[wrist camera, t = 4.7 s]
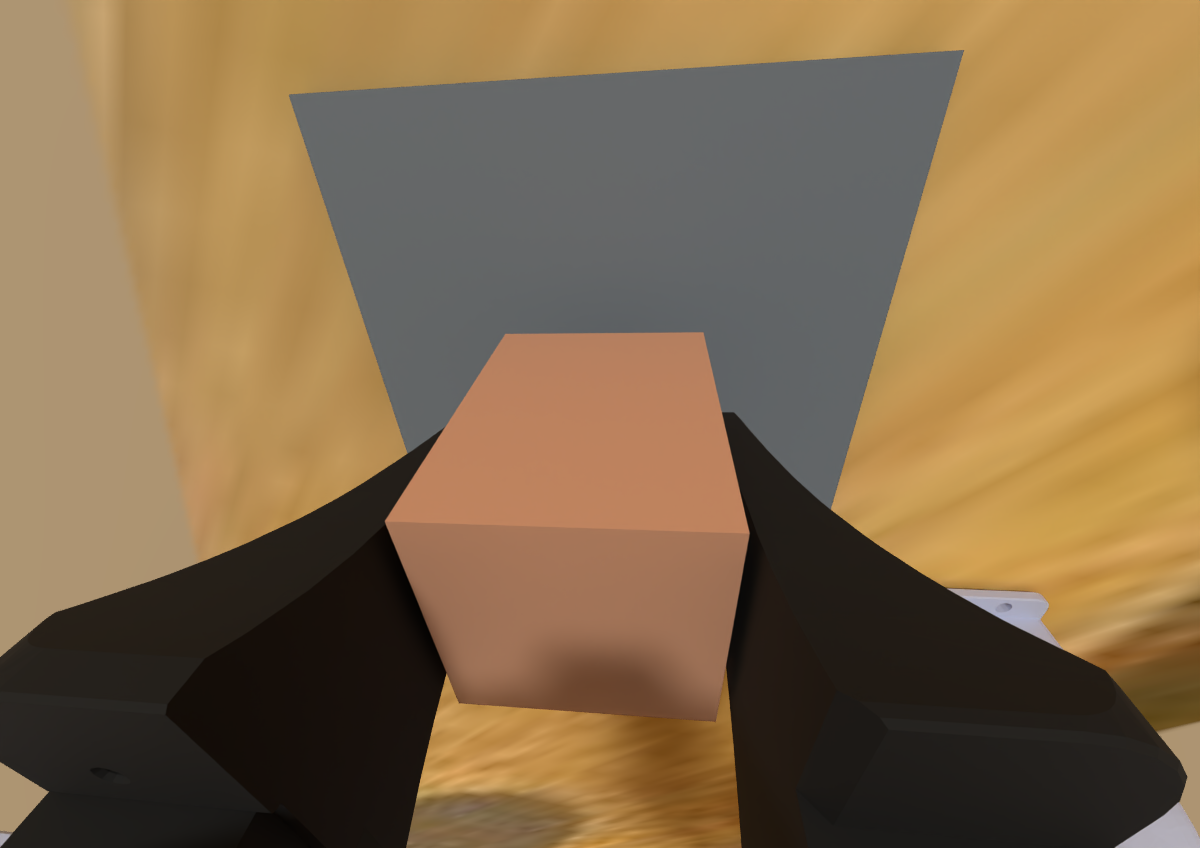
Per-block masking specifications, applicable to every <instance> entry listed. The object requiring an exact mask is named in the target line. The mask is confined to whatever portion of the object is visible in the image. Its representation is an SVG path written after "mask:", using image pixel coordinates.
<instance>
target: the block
mask: <svg viewBox="0 0 1200 848" xmlns="http://www.w3.org/2000/svg"><path fill="white" fill-rule="evenodd" d="M385 523H386V526H387V528H388V531H389V533H390V536H391V538H392V540H393V543H394V545H395V548H396V550H397V553H398V555H399V558H400V560H401V562H402V565H403V567H404V570H405V572H406V575H407V577H408V580H409V582H410V584H411V587H412V589H413V592H414V594H415V597H416V599H417V602H418V604H419V606H420V609H421V611H422V614H423V616H424V619H425V621H426V624H427V626H428V628H429V631H430V633H431V636H432V638H433V641H434V643H435V646H436V648H437V651H438V653H439V655H440V658H441V660H442V663H443V665H444V668H445V670H446V673H447V675H448V677H449V680H450V682H451V685H452V687H453V690H454V692H455V695H456V697H457V699H458V702H459V703H465V704H478V705H492V706H506V707H520V708H534V709H548V710H561V711H575V712H589V713H603V714H617V715H631V716H644V717H658V718H672V719H686V720H700V721H714V722H716V718H717V712H718V707H719V701H720V696H721V690H722V685H723V679H724V673H725V668H726V662H727V657H728V651H729V645H730V640H731V634H732V629H733V623H734V618H735V612H736V606H737V601H738V595H739V590H740V584H741V579H742V573H743V567H744V562H745V556H746V551H747V545H748V540H749V534H750V533H749V529H748V525H747V520H746V516H745V512H744V507H743V503H742V498H741V494H740V490H739V485H738V481H737V477H736V472H735V468H734V464H733V459H732V455H731V451H730V446H729V442H728V437H727V433H726V429H725V424H724V420H723V416H722V411H721V407H720V403H719V398H718V394H717V390H716V385H715V381H714V377H713V372H712V368H711V363H710V359H709V355H708V350H707V346H706V342H705V337H704V333H703V332H682V333H557V334H505V335H504V337H503V338H502V340H501V341H500V343H499V344H498V346H497V348H496V349H495V351H494V352H493V354H492V355H491V357H490V358H489V360H488V362H487V363H486V365H485V366H484V368H483V369H482V371H481V372H480V374H479V376H478V377H477V379H476V380H475V382H474V383H473V385H472V386H471V388H470V390H469V391H468V393H467V394H466V396H465V397H464V399H463V400H462V402H461V404H460V405H459V407H458V408H457V410H456V411H455V413H454V414H453V416H452V418H451V419H450V421H449V422H448V424H447V425H446V427H445V428H444V430H443V432H442V433H441V435H440V436H439V438H438V439H437V441H436V442H435V444H434V446H433V447H432V449H431V450H430V452H429V453H428V455H427V456H426V458H425V460H424V461H423V463H422V464H421V466H420V467H419V469H418V470H417V472H416V474H415V475H414V477H413V478H412V480H411V481H410V483H409V484H408V486H407V488H406V489H405V491H404V492H403V494H402V495H401V497H400V498H399V500H398V502H397V503H396V505H395V506H394V508H393V509H392V511H391V512H390V514H389V516H388V517H387V519H386V520H385Z"/></svg>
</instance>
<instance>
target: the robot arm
mask: <svg viewBox="0 0 1200 848" xmlns="http://www.w3.org/2000/svg"><path fill="white" fill-rule="evenodd" d="M722 416H723V420H724V424H725V429H726V433H727V437H728V442H729V446H730V451H731V455H732V459H733V464H734V468H735V472H736V477H737V481H738V485H739V490H740V494H741V498H742V503H743V507H744V512H745V516H746V520H747V525H748V529H749V533H750V534H749V540H748V545H747V551H746V556H745V562H744V567H743V573H742V579H741V584H740V590H739V595H738V601H737V606H736V612H735V618H734V623H733V629H732V634H731V640H730V645H729V651H728V657H727V662H726V669H727V679H728V689H729V700H730V711H731V722H732V733H733V744H734V756H735V768H736V780H737V792H738V805H739V818H740V832H741V846H742V848H1200V838H1199V836H1198V834H1197V832H1196V830H1195V828H1194V826H1193V824H1192V823H1191V821H1190V819H1189V818H1188V816H1187V814H1186V813H1185V811H1184V809H1183V807H1182V806H1181V804H1180V803H1179V801H1180V799H1181V796H1182V793H1183V790H1184V787H1185V783H1186V779H1187V775H1186V773H1185V771H1184V769H1183V766H1182V764H1181V762H1180V760H1179V759H1178V758H1177V757H1176V756H1175V754H1174V753H1173V752H1172V751H1171V749H1170V748H1169V747H1168V746H1167V745H1166V743H1165V742H1164V741H1163V740H1162V738H1161V737H1160V736H1159V735H1158V734H1157V732H1156V731H1155V730H1154V729H1153V727H1152V726H1151V725H1150V724H1149V722H1148V721H1147V720H1146V719H1145V718H1144V716H1143V715H1142V714H1141V713H1140V711H1139V710H1138V709H1137V708H1136V707H1135V705H1134V704H1133V703H1132V702H1131V700H1130V699H1129V698H1128V697H1127V695H1126V694H1125V693H1124V692H1123V691H1122V689H1121V688H1120V687H1119V686H1118V685H1117V683H1116V682H1115V681H1114V680H1113V679H1112V678H1111V677H1110V676H1109V674H1108V673H1107V672H1106V671H1105V670H1103V669H1101V668H1099V667H1097V666H1095V665H1093V664H1091V663H1089V662H1087V661H1085V660H1083V659H1081V658H1079V657H1077V656H1075V655H1073V654H1071V653H1069V652H1067V651H1065V650H1063V649H1062V647H1061V646H1060V645H1059V644H1058V642H1057V641H1056V640H1055V638H1054V637H1053V636H1052V634H1051V633H1050V632H1049V630H1048V629H1047V628H1046V627H1045V625H1044V624H1043V623H1042V621H1041V620H1040V619H1041V617H1042V616H1043V615H1044V613H1045V612H1046V611H1047V609H1048V607H1049V604H1048V602H1047V601H1046V600H1045V598H1044V597H1043V596H1042V595H1041V594H1039V593H1035V592H1020V591H997V590H973V589H950V588H945V587H943V586H942V585H940V584H938V583H937V582H935V581H933V580H932V579H930V578H928V577H927V576H925V575H923V574H922V573H920V572H918V571H917V570H915V569H914V568H912V567H911V566H909V565H908V564H906V563H905V562H903V561H901V560H900V559H898V558H897V557H895V556H894V555H892V554H891V553H889V552H888V551H886V550H885V549H883V548H882V547H880V546H879V545H877V544H876V543H874V542H873V541H872V540H870V539H869V538H867V537H866V536H864V535H863V534H862V533H860V532H859V531H858V530H856V529H855V528H854V527H853V526H851V525H850V524H849V523H847V522H846V521H845V520H843V519H842V518H841V517H839V516H838V515H837V514H836V513H834V512H833V511H832V510H831V509H829V508H828V507H827V506H826V505H824V504H823V503H822V502H821V501H820V500H819V499H817V498H816V497H815V496H814V495H813V494H812V493H811V492H810V491H809V490H807V489H806V488H805V487H804V486H803V485H802V484H801V483H800V482H799V481H797V480H796V479H795V478H794V477H793V476H792V475H791V474H790V473H789V472H788V471H787V470H786V469H785V468H784V467H783V466H782V465H781V463H780V462H779V461H778V460H777V459H776V458H775V457H774V456H773V455H772V454H771V453H770V452H769V451H768V450H767V449H766V448H765V447H764V445H763V444H762V443H761V442H760V441H759V440H758V439H757V438H756V436H755V435H754V434H753V433H752V432H751V431H750V429H749V428H748V427H747V426H746V425H745V424H744V422H743V421H742V420H741V419H740V418H739V417H738V416H737V415H736V414H735V413H734V412H722ZM444 428H445V427H444ZM444 428H443V429H441V430H440V431H439V432H437V433H436V434H435V435H433V436H432V437H430V438H429V439H428V440H426V441H425V442H423V443H422V444H421V445H419V446H418V447H416V448H415V449H414V450H412V451H411V452H409V453H408V454H406V455H405V456H404V457H402V458H401V459H399V460H398V461H396V462H395V463H393V464H392V465H390V466H389V467H387V468H385V469H384V470H382V471H381V472H379V473H378V474H376V475H375V476H373V477H372V478H370V479H369V480H367V481H366V482H364V483H362V484H361V485H359V486H358V487H356V488H354V489H353V490H351V491H349V492H348V493H346V494H344V495H342V496H341V497H339V498H337V499H335V500H333V501H332V502H330V503H328V504H326V505H324V506H322V507H321V508H319V509H317V510H315V511H313V512H311V513H309V514H307V515H305V516H304V517H302V518H300V519H298V520H295V521H293V522H291V523H289V524H287V525H285V526H283V527H280V528H278V529H276V530H274V531H272V532H270V533H268V534H265V535H263V536H261V537H259V538H257V539H255V540H253V541H251V542H248V543H246V544H244V545H242V546H239V547H237V548H235V549H232V550H230V551H227V552H225V553H222V554H220V555H218V556H215V557H213V558H210V559H208V560H205V561H203V562H200V563H198V564H195V565H192V566H190V567H187V568H185V569H182V570H179V571H177V572H174V573H171V574H169V575H166V576H164V577H161V578H158V579H155V580H152V581H150V582H147V583H144V584H141V585H138V586H135V587H132V588H129V589H126V590H123V591H120V592H117V593H114V594H111V595H108V596H105V597H102V598H99V599H96V600H93V601H90V602H87V603H84V604H81V605H78V606H74V607H71V608H68V609H65V610H62V611H58V612H56V613H54V614H52V615H51V616H49V617H48V618H47V619H45V620H44V621H43V622H42V623H41V624H39V625H38V626H37V627H36V628H34V629H33V630H32V631H31V632H30V633H28V634H27V635H26V636H25V637H24V638H22V639H21V640H20V641H19V642H18V643H17V644H15V645H14V646H13V647H12V648H11V649H9V650H8V651H7V652H6V653H5V654H3V655H2V656H1V657H0V762H1V763H3V764H4V765H6V766H8V767H9V768H11V769H13V770H14V771H16V772H17V773H19V774H21V775H22V776H24V777H26V778H27V779H29V780H30V781H32V782H34V783H35V784H37V785H39V786H40V787H42V788H43V789H45V790H47V791H49V793H48V794H47V795H46V796H45V797H44V798H43V799H42V800H41V802H40V803H39V804H38V805H37V806H36V807H35V808H34V809H33V811H32V812H31V813H30V814H29V815H28V816H27V817H26V819H25V820H24V821H23V822H22V823H21V824H20V825H19V826H18V828H17V829H16V830H15V831H14V832H5V831H0V848H406V845H407V841H408V836H409V831H410V826H411V821H412V817H413V812H414V807H415V802H416V798H417V793H418V788H419V783H420V779H421V774H422V770H423V766H424V762H425V757H426V753H427V749H428V745H429V740H430V736H431V732H432V727H433V723H434V719H435V715H436V711H437V708H438V704H439V700H440V696H441V692H442V688H443V684H444V681H445V677H446V670H445V668H444V665H443V663H442V660H441V658H440V655H439V653H438V651H437V648H436V646H435V643H434V641H433V638H432V636H431V633H430V631H429V628H428V626H427V624H426V621H425V619H424V616H423V614H422V611H421V609H420V606H419V604H418V602H417V599H416V597H415V594H414V592H413V589H412V587H411V584H410V582H409V580H408V577H407V575H406V572H405V570H404V567H403V565H402V562H401V560H400V558H399V555H398V553H397V550H396V548H395V545H394V543H393V540H392V538H391V536H390V533H389V531H388V528H387V526H386V523H385V520H386V519H387V517H388V516H389V514H390V512H391V511H392V509H393V508H394V506H395V505H396V503H397V502H398V500H399V498H400V497H401V495H402V494H403V492H404V491H405V489H406V488H407V486H408V484H409V483H410V481H411V480H412V478H413V477H414V475H415V474H416V472H417V470H418V469H419V467H420V466H421V464H422V463H423V461H424V460H425V458H426V456H427V455H428V453H429V452H430V450H431V449H432V447H433V446H434V444H435V442H436V441H437V439H438V438H439V436H440V435H441V433H442V432H443V430H444Z"/></svg>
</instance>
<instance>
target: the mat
mask: <svg viewBox="0 0 1200 848" xmlns="http://www.w3.org/2000/svg"><path fill="white" fill-rule="evenodd" d="M963 52H964V50H959V51H944V52H928V53H913V54H898V55H883V56H868V57H852V58H837V59H822V60H807V61H792V62H777V63H761V64H746V65H731V66H716V67H701V68H685V69H670V70H655V71H640V72H625V73H610V74H594V75H579V76H564V77H549V78H534V79H518V80H503V81H488V82H473V83H458V84H442V85H427V86H412V87H397V88H382V89H367V90H351V91H336V92H321V93H306V94H291V95H289V97H290V100H291V103H292V106H293V109H294V112H295V115H296V118H297V121H298V124H299V127H300V130H301V133H302V136H303V139H304V142H305V145H306V148H307V151H308V154H309V157H310V160H311V164H312V167H313V170H314V173H315V176H316V179H317V182H318V185H319V188H320V191H321V194H322V197H323V200H324V203H325V206H326V209H327V212H328V215H329V218H330V221H331V224H332V227H333V230H334V233H335V236H336V239H337V242H338V245H339V248H340V251H341V254H342V257H343V260H344V263H345V266H346V269H347V272H348V275H349V278H350V281H351V284H352V287H353V290H354V293H355V296H356V299H357V302H358V305H359V308H360V311H361V314H362V317H363V320H364V323H365V326H366V329H367V332H368V335H369V338H370V341H371V344H372V347H373V351H374V354H375V357H376V360H377V363H378V366H379V369H380V372H381V375H382V378H383V381H384V384H385V387H386V390H387V393H388V396H389V399H390V402H391V405H392V408H393V411H394V414H395V417H396V420H397V423H398V426H399V429H400V432H401V435H402V438H403V441H404V444H405V447H406V450H407V453H409V452H411V451H412V450H414V449H415V448H416V447H418V446H419V445H421V444H422V443H423V442H425V441H426V440H428V439H429V438H430V437H432V436H433V435H435V434H436V433H437V432H439V431H440V430H441V429H443V428H444V427H446V425H447V424H448V422H449V421H450V419H451V418H452V416H453V414H454V413H455V411H456V410H457V408H458V407H459V405H460V404H461V402H462V400H463V399H464V397H465V396H466V394H467V393H468V391H469V390H470V388H471V386H472V385H473V383H474V382H475V380H476V379H477V377H478V376H479V374H480V372H481V371H482V369H483V368H484V366H485V365H486V363H487V362H488V360H489V358H490V357H491V355H492V354H493V352H494V351H495V349H496V348H497V346H498V344H499V343H500V341H501V340H502V338H503V337H504V335H505V334H557V333H682V332H703V333H704V337H705V342H706V346H707V350H708V355H709V359H710V363H711V368H712V372H713V377H714V381H715V385H716V390H717V394H718V398H719V403H720V407H721V411H722V412H734V413H735V414H736V415H737V416H738V417H739V418H740V419H741V420H742V421H743V422H744V424H745V425H746V426H747V427H748V428H749V429H750V431H751V432H752V433H753V434H754V435H755V436H756V438H757V439H758V440H759V441H760V442H761V443H762V444H763V445H764V447H765V448H766V449H767V450H768V451H769V452H770V453H771V454H772V455H773V456H774V457H775V458H776V459H777V460H778V461H779V462H780V463H781V465H782V466H783V467H784V468H785V469H786V470H787V471H788V472H789V473H790V474H791V475H792V476H793V477H794V478H795V479H796V480H797V481H799V482H800V483H801V484H802V485H803V486H804V487H805V488H806V489H807V490H809V491H810V492H811V493H812V494H813V495H814V496H815V497H816V498H817V499H819V500H820V501H821V502H822V503H823V504H824V505H826V506H827V507H828V508H829V509H831V506H832V503H833V499H834V496H835V493H836V489H837V486H838V482H839V479H840V475H841V472H842V468H843V465H844V462H845V458H846V455H847V451H848V448H849V444H850V441H851V437H852V434H853V431H854V427H855V424H856V420H857V417H858V413H859V410H860V406H861V403H862V400H863V396H864V393H865V389H866V386H867V382H868V379H869V375H870V372H871V369H872V365H873V362H874V358H875V355H876V351H877V348H878V344H879V341H880V337H881V334H882V331H883V327H884V324H885V320H886V317H887V313H888V310H889V306H890V303H891V300H892V296H893V293H894V289H895V286H896V282H897V279H898V275H899V272H900V269H901V265H902V262H903V258H904V255H905V251H906V248H907V244H908V241H909V238H910V234H911V231H912V227H913V224H914V220H915V217H916V213H917V210H918V207H919V203H920V200H921V196H922V193H923V189H924V186H925V182H926V179H927V176H928V172H929V169H930V165H931V162H932V158H933V155H934V151H935V148H936V145H937V141H938V138H939V134H940V131H941V127H942V124H943V120H944V117H945V114H946V110H947V107H948V103H949V100H950V96H951V93H952V89H953V86H954V83H955V79H956V76H957V72H958V69H959V65H960V62H961V58H962V55H963Z"/></svg>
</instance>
